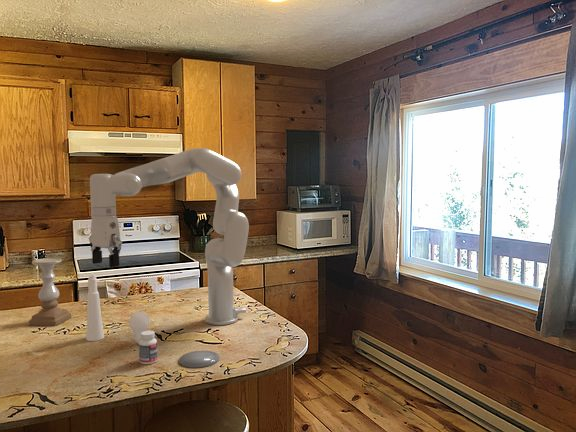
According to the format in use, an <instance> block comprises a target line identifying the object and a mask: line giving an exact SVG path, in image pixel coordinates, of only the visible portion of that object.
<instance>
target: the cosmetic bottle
mask: <svg viewBox="0 0 576 432" xmlns="http://www.w3.org/2000/svg"><path fill="white" fill-rule="evenodd" d="M87 287H88V288H87V289H88V292H87V294H86V295H87V297H86V305H87V307H86V310H87V311H86V314H87V315H86V318H87V320H86V336H85V341H87V342H96V341H102V340H103V339H104V338H105V332H104V328H103V327H104V326H103V320H102V313H101V302H100V300H101V299H100V293H99V292H100V291H98V279H97V275H96V274H90V275H88V279H87Z"/></svg>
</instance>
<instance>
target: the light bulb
mask: <svg viewBox="0 0 576 432" xmlns="http://www.w3.org/2000/svg"><path fill="white" fill-rule="evenodd" d="M150 321H151V320H150V316H149V315H148V314H147V313H146V312H144V311H141V310H140V311H136V312H133V313H132V314H131V315H130V316H129V319H128V326H129V328H130V329H131V330H132V332H133V335H134V338H135V339H134V340H135V343H136V344H137V345H139V341H140V340H141V333H142V332H144V331H148V330H147V329H148V328H149V326H150V324H151V323H150Z"/></svg>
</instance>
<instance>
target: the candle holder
mask: <svg viewBox="0 0 576 432" xmlns="http://www.w3.org/2000/svg"><path fill="white" fill-rule="evenodd" d="M62 262H63V260H62V258H61V257H45V258H38V259H34V260H32V261H31V264H32V265H34V266H39V268H40V270H41V271H42V273H41V276H39V277H40V279H41V281H42V283H43V284H42V287H41V288H40V290H39V292H38V295H37V296H38V298H39V300H40V301H41V302H40V307H41V309H40V310H39V311H38V312H37V313H35V314H33V315H32V316H31V319H29V320H28V326H29V325H30V326H31V327H32V326H33V327H57V326H60V325H61V324H63V323H64V322H66V321H68V320H70V319H72V313H71V312H69V310H68V309H61V308H60V307H58V305H59V301H58V300H57V299H58V298H59V297H60V290H59V289H58V288H57V286H56V285H55V284H54V280H55V278H56V274H55V273H54V268H55V266H56V264H59V263H62Z"/></svg>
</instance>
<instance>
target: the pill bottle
mask: <svg viewBox="0 0 576 432" xmlns="http://www.w3.org/2000/svg"><path fill="white" fill-rule="evenodd" d="M155 337H156V333H155V331H153V330H146V331H144V332H142V333H141V340H140V341H139V344H138V351H139V352H138V353H139V354H138V356H139V363H140V364H142V365H152V364H155V363H157V361H158V340H157V339H156V338H155Z"/></svg>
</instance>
